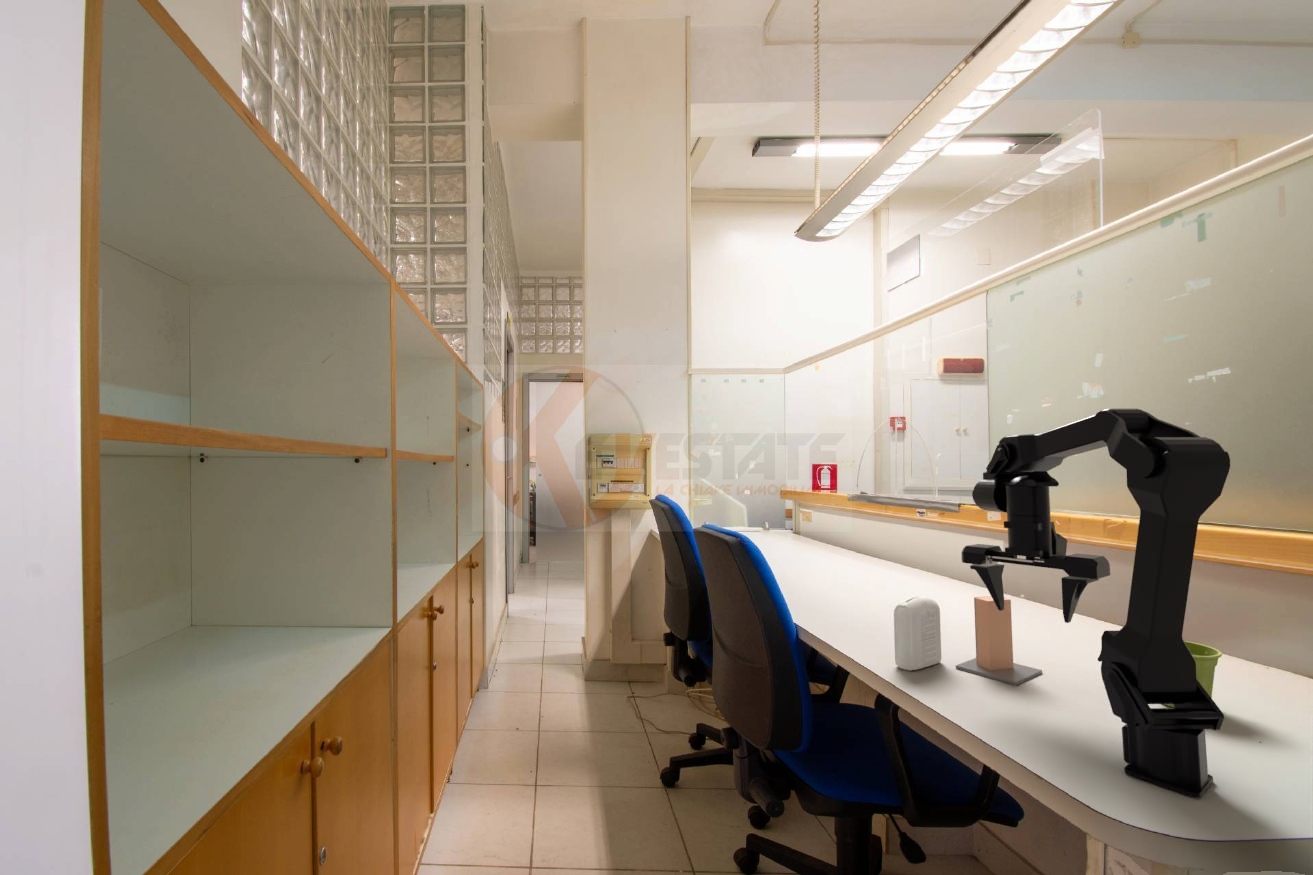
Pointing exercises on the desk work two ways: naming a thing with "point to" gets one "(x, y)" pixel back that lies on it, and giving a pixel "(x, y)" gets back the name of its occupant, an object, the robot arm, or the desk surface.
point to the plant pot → (1204, 665)
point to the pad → (1001, 672)
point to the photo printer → (917, 633)
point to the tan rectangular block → (993, 634)
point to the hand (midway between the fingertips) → (1033, 615)
